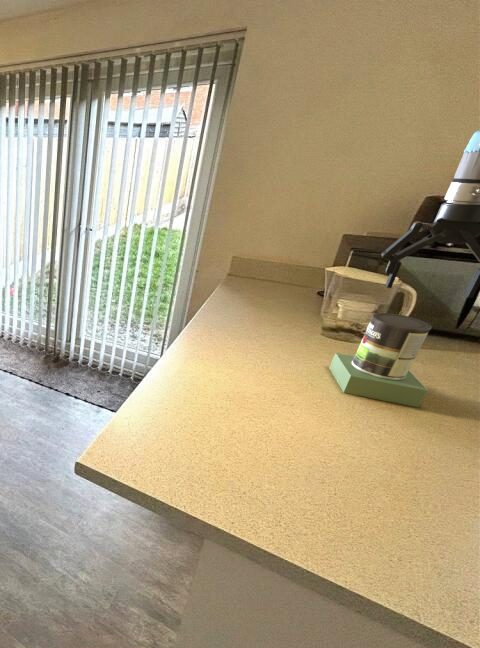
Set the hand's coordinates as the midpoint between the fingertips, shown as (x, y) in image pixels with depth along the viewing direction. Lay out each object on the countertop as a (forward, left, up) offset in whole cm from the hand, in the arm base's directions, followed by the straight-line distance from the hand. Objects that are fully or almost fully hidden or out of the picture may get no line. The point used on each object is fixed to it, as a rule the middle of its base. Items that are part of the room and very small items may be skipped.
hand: (426, 291), depth 97 cm
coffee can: (+3, +7, -21) cm, 22 cm away
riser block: (+3, +7, -25) cm, 27 cm away
